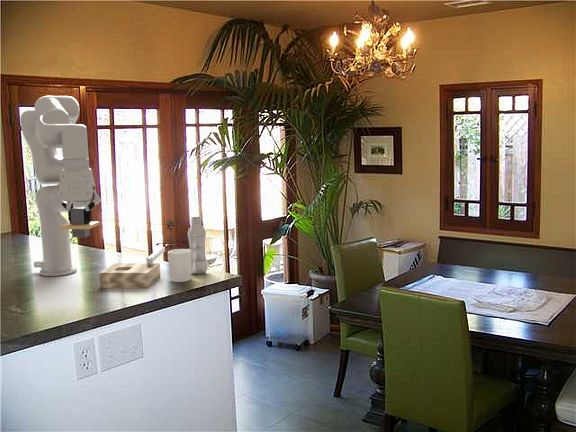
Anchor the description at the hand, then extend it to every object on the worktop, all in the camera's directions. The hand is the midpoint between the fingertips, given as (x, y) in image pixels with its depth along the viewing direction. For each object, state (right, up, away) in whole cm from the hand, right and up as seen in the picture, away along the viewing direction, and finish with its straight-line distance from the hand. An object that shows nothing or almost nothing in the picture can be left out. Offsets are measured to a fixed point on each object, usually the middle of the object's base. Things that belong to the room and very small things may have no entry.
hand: (80, 222), depth 193 cm
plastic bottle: (+33, -19, +26) cm, 46 cm away
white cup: (+29, -20, +17) cm, 39 cm away
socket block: (+12, -20, +15) cm, 28 cm away
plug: (0, -4, +1) cm, 4 cm away
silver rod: (+19, -13, +25) cm, 34 cm away
